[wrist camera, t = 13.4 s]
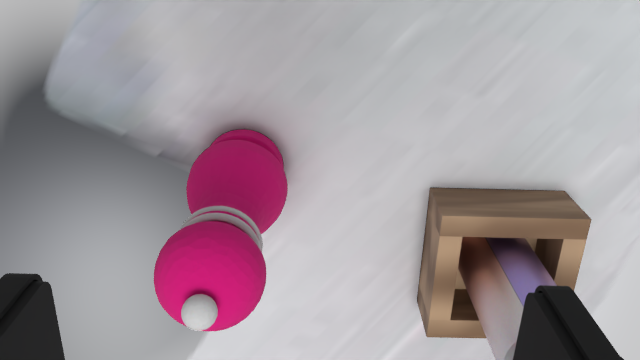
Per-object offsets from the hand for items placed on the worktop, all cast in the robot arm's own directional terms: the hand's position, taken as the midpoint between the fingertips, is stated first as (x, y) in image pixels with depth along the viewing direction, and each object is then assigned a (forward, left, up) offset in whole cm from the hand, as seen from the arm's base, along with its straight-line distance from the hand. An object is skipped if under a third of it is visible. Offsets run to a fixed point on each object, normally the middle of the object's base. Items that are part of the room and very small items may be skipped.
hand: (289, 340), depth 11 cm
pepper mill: (+10, -5, -34) cm, 35 cm away
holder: (+17, +16, -33) cm, 40 cm away
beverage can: (+17, +16, -33) cm, 40 cm away
